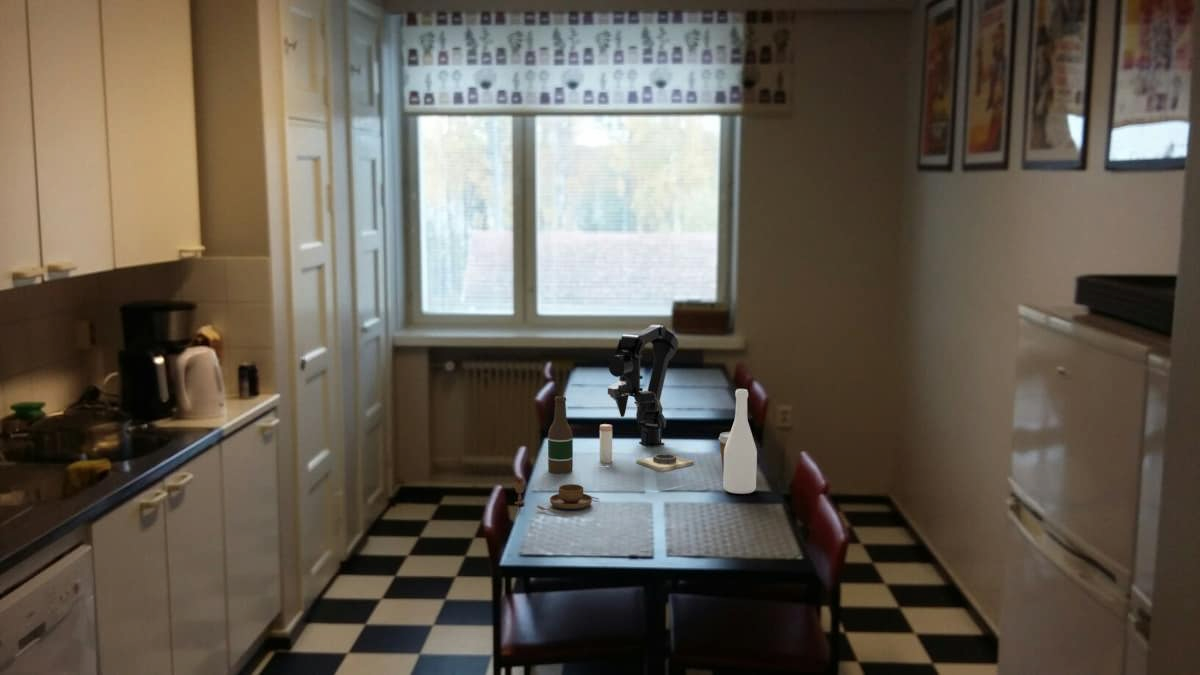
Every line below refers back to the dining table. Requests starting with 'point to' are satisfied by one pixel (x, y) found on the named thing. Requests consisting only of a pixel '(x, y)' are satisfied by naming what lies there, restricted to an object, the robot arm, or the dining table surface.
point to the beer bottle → (560, 441)
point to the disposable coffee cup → (723, 445)
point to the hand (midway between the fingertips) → (631, 419)
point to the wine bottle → (740, 451)
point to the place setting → (562, 497)
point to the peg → (606, 443)
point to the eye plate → (665, 466)
